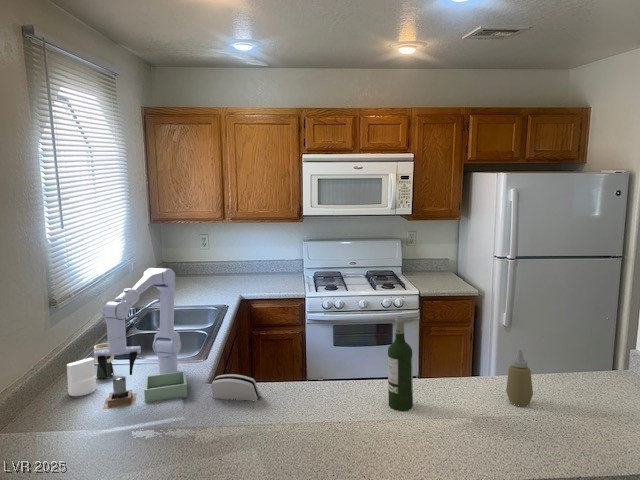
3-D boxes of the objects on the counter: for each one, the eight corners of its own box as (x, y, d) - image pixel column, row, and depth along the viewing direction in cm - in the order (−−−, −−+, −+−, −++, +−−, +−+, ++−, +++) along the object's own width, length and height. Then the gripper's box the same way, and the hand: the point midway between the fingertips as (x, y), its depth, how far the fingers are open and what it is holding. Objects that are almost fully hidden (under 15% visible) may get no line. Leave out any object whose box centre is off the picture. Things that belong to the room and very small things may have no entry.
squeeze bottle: (512, 396, 154) (512, 344, 153) (536, 403, 148) (537, 349, 147) (501, 403, 148) (502, 350, 147) (527, 411, 142) (527, 355, 141)
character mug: (105, 382, 175) (103, 349, 174) (88, 381, 176) (86, 349, 175) (121, 372, 186) (119, 341, 185) (105, 371, 187) (103, 341, 186)
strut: (114, 399, 156) (113, 377, 156) (127, 397, 158) (125, 375, 157) (113, 404, 152) (112, 381, 152) (126, 402, 154) (125, 379, 153)
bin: (146, 389, 167) (145, 376, 167) (185, 383, 172) (184, 370, 171) (144, 404, 154) (144, 390, 154) (187, 397, 158) (186, 384, 158)
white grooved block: (88, 386, 171) (86, 356, 170) (101, 392, 166) (99, 360, 165) (63, 395, 164) (61, 363, 163) (76, 400, 158) (74, 367, 157)
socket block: (106, 400, 158) (105, 392, 158) (136, 395, 161) (136, 387, 161) (102, 412, 149) (102, 403, 148) (135, 407, 152) (134, 398, 152)
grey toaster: (261, 395, 159) (257, 373, 155) (257, 405, 155) (253, 382, 151) (218, 392, 163) (213, 370, 159) (212, 402, 158) (207, 379, 154)
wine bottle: (384, 403, 150) (382, 315, 148) (403, 399, 153) (403, 312, 151) (397, 413, 143) (396, 320, 141) (417, 408, 146) (416, 317, 144)
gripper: (91, 342, 147) (93, 382, 148) (139, 337, 152) (141, 376, 153) (94, 336, 154) (96, 375, 155) (140, 332, 159) (141, 369, 160)
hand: (118, 375), depth 154 cm, fingers open, 7 cm apart
